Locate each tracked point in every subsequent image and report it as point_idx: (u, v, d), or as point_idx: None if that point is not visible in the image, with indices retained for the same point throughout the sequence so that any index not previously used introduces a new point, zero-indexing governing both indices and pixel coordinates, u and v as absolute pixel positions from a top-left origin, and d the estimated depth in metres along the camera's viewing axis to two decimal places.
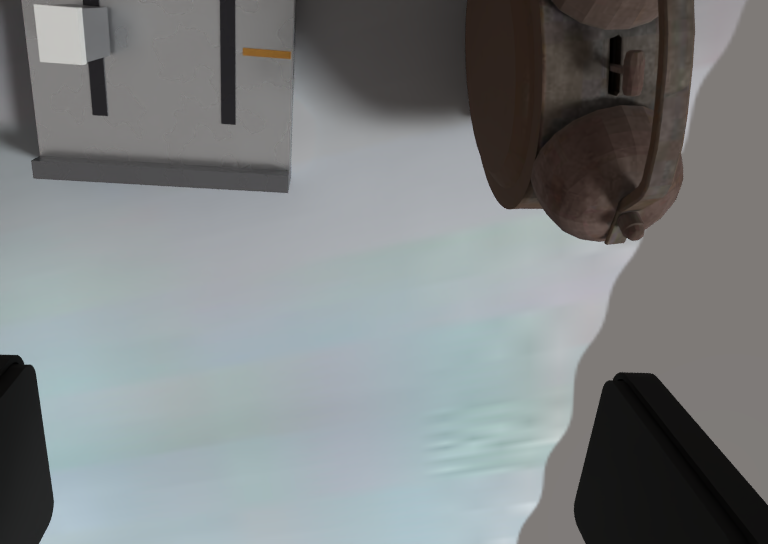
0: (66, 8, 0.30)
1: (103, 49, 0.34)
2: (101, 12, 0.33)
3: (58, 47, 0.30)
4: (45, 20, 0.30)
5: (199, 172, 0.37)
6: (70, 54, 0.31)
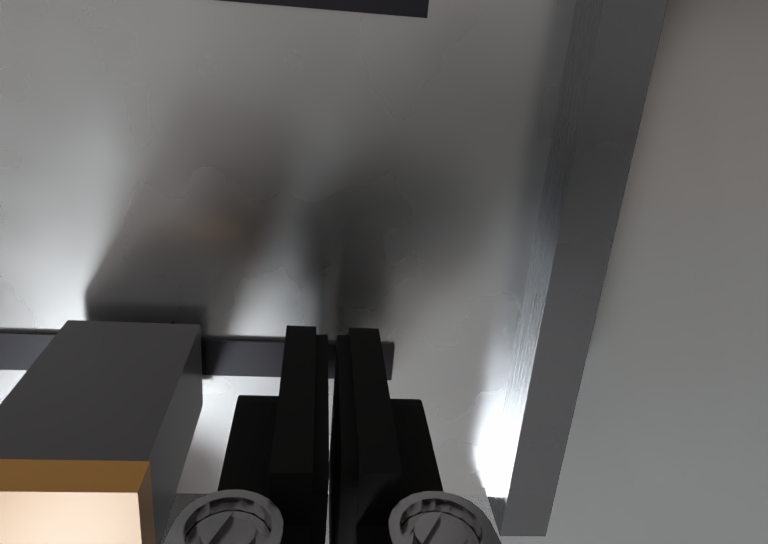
0: None
1: None
2: None
3: None
4: None
5: None
6: None
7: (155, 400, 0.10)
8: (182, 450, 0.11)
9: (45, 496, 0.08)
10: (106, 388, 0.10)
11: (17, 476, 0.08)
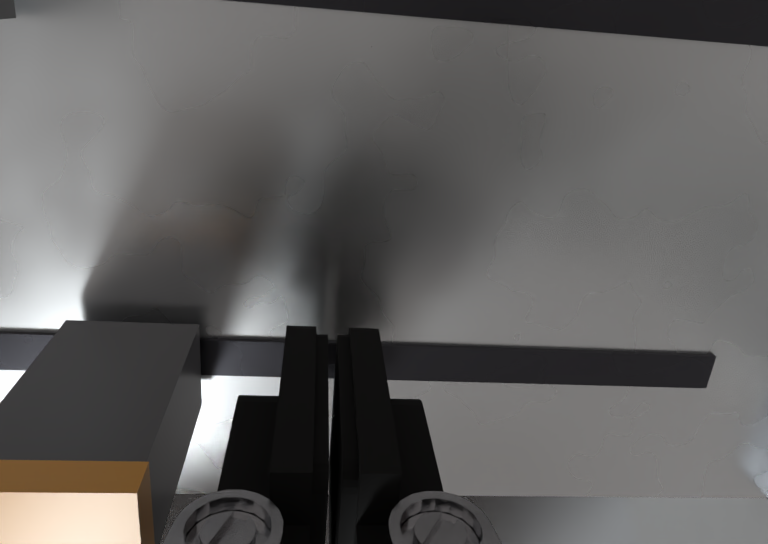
0: None
1: None
2: None
3: None
4: None
5: None
6: None
7: (154, 401, 0.10)
8: (181, 450, 0.11)
9: (44, 497, 0.08)
10: (105, 389, 0.10)
11: (16, 477, 0.08)
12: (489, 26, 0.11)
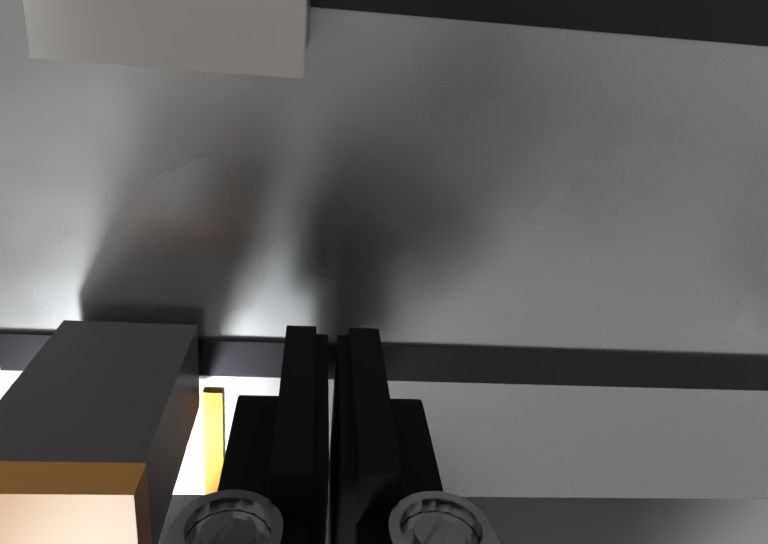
0: (298, 24, 0.06)
1: None
2: None
3: None
4: None
5: None
6: (74, 3, 0.06)
7: (151, 401, 0.10)
8: (178, 451, 0.11)
9: (40, 498, 0.08)
10: (103, 390, 0.10)
11: (12, 478, 0.08)
12: (740, 47, 0.11)
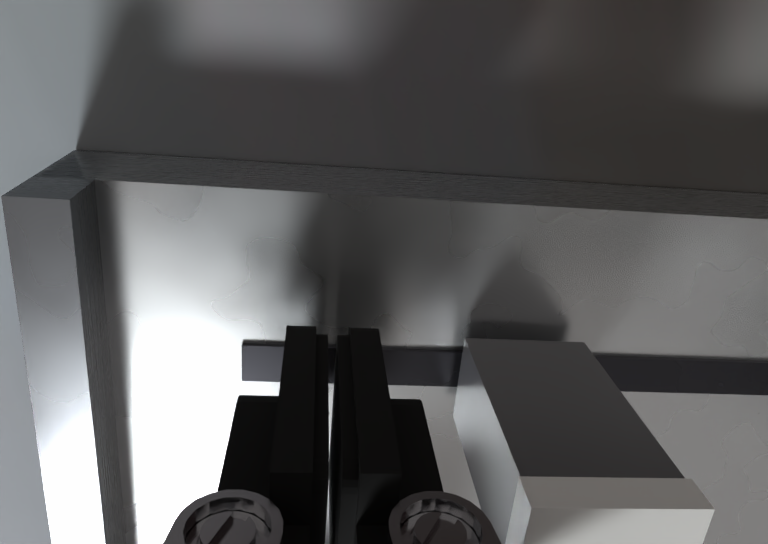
0: None
1: None
2: None
3: None
4: (659, 535, 0.09)
5: None
6: None
7: None
8: None
9: None
10: None
11: None
12: None
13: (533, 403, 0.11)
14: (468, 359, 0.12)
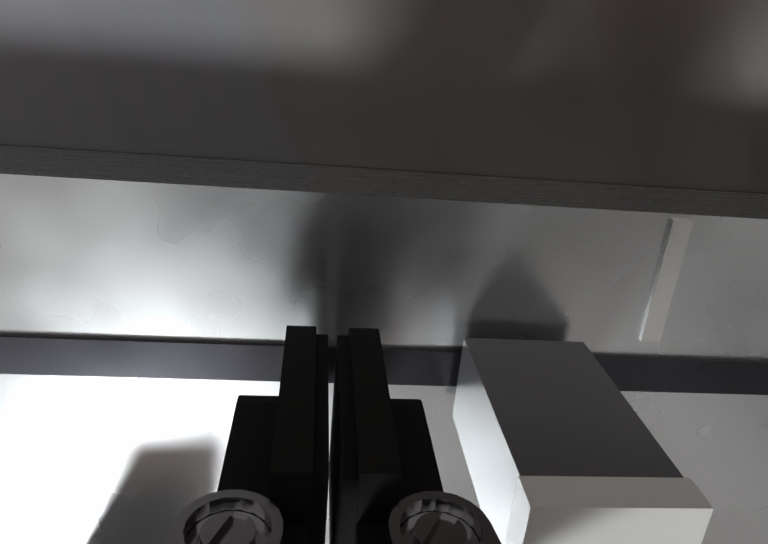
0: None
1: None
2: None
3: None
4: (659, 534, 0.09)
5: None
6: None
7: None
8: None
9: None
10: None
11: None
12: (620, 391, 0.14)
13: (532, 402, 0.11)
14: (468, 358, 0.12)
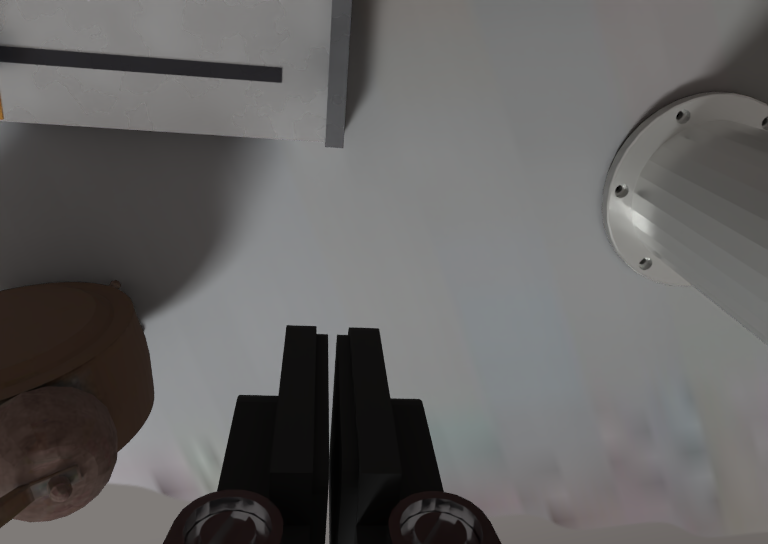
0: None
1: None
2: None
3: None
4: None
5: None
6: None
7: None
8: None
9: None
10: None
11: None
12: None
13: None
14: None
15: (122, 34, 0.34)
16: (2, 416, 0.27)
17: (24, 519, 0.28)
